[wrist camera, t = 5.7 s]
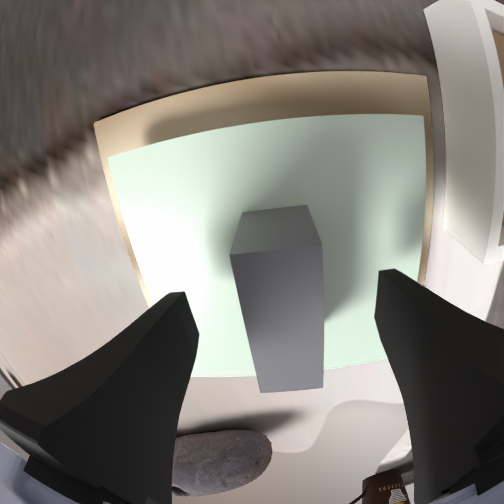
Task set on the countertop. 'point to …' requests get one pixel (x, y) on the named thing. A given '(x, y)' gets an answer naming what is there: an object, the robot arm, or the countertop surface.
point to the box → (472, 120)
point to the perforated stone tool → (218, 461)
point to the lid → (279, 237)
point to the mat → (268, 119)
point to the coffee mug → (384, 489)
